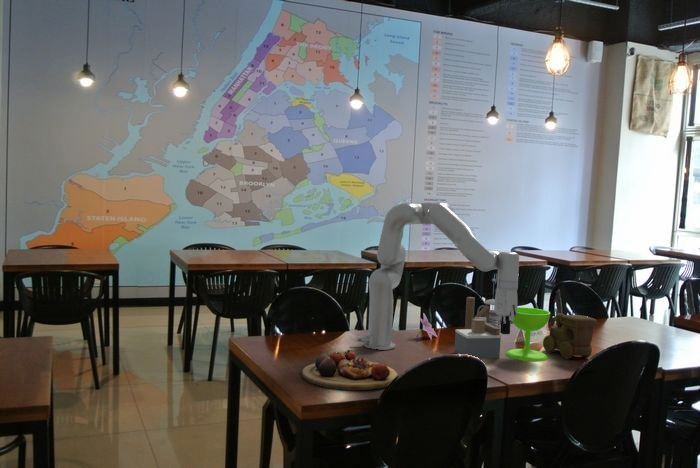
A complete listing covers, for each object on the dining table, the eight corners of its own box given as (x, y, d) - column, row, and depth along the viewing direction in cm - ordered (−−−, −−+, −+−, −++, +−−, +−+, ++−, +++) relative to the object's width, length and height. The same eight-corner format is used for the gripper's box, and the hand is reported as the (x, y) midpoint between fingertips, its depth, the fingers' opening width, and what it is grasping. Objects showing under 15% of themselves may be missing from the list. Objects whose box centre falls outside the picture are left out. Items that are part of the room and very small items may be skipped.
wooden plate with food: (417, 384, 207) (418, 359, 207) (337, 397, 189) (338, 370, 188) (360, 362, 233) (361, 340, 233) (284, 372, 215) (285, 348, 214)
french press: (504, 334, 288) (507, 280, 286) (478, 333, 288) (481, 279, 286) (499, 330, 298) (502, 277, 296) (474, 329, 298) (477, 276, 296)
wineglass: (497, 352, 254) (500, 308, 253) (529, 350, 260) (532, 306, 259) (523, 362, 239) (526, 315, 238) (556, 360, 246) (559, 314, 245)
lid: (466, 340, 241) (467, 322, 240) (455, 334, 251) (456, 317, 251) (500, 340, 244) (501, 322, 244) (487, 334, 255) (488, 316, 254)
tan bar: (494, 335, 242) (495, 328, 242) (476, 326, 258) (477, 320, 257) (499, 335, 243) (500, 328, 242) (481, 326, 258) (481, 320, 258)
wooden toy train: (596, 361, 247) (599, 319, 246) (572, 362, 243) (575, 319, 242) (561, 348, 266) (564, 309, 265) (539, 350, 261) (541, 310, 260)
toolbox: (465, 359, 241) (467, 325, 240) (450, 349, 255) (452, 317, 254) (500, 358, 244) (502, 324, 244) (483, 349, 258) (485, 317, 258)
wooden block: (488, 338, 279) (490, 297, 278) (466, 339, 276) (469, 298, 275) (483, 336, 283) (485, 296, 282) (462, 337, 279) (464, 296, 278)
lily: (418, 343, 268) (430, 325, 267) (403, 327, 277) (414, 309, 276) (435, 348, 276) (447, 330, 275) (420, 333, 285) (431, 315, 283)
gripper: (489, 282, 242) (486, 329, 243) (507, 287, 228) (505, 338, 229) (507, 282, 244) (504, 329, 245) (526, 287, 229) (524, 337, 230)
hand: (505, 333), depth 237 cm, fingers closed
